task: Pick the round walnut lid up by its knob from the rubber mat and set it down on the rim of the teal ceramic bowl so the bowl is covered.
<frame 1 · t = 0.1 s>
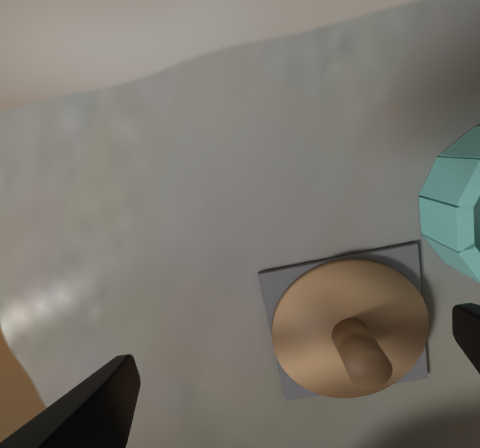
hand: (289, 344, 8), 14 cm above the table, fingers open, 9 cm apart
lid: (357, 347, 22), on the mat
mat: (345, 325, 25), on the table
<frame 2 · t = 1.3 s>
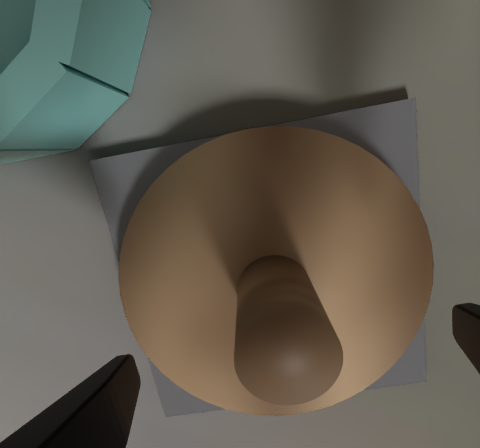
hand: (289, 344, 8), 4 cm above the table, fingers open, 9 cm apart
lid: (278, 311, 10), on the mat
mat: (271, 276, 13), on the table
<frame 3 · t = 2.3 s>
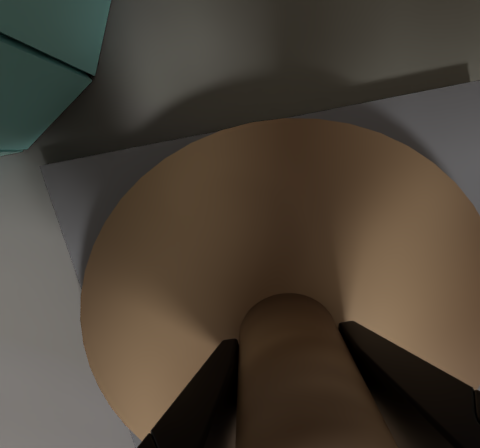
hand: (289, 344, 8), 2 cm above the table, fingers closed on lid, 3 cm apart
lid: (296, 378, 7), on the mat, touching gripper
mat: (282, 314, 10), on the table
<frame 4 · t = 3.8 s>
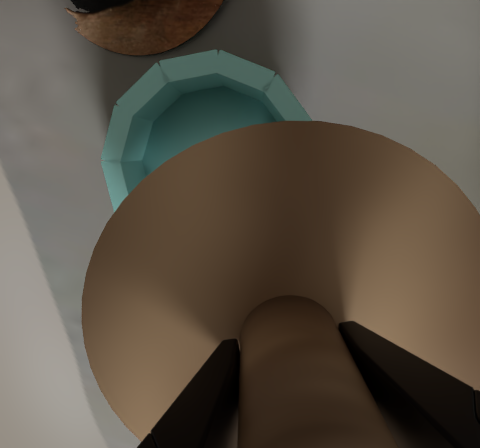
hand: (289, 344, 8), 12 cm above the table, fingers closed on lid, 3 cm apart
lid: (298, 380, 7), point 14 cm above the table, touching gripper
bowl: (218, 166, 19), on the table
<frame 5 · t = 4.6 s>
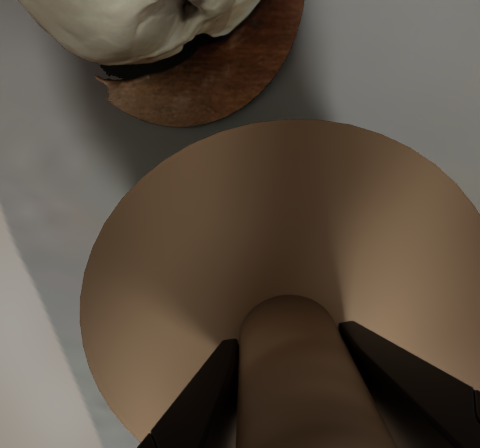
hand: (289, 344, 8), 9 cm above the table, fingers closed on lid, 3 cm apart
lid: (297, 380, 7), point 10 cm above the table, touching gripper
when the fingers open (7 cm above the table, at t = 5.2 s): lid drops 1 cm, resting on bowl.
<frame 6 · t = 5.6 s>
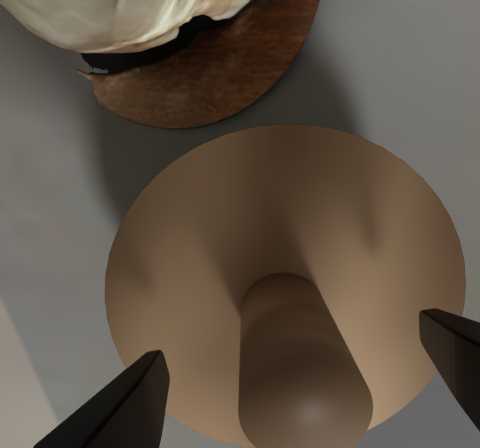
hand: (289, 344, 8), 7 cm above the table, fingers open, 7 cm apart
lid: (289, 340, 9), on the bowl, point 6 cm above the table
mat: (442, 430, 17), on the table
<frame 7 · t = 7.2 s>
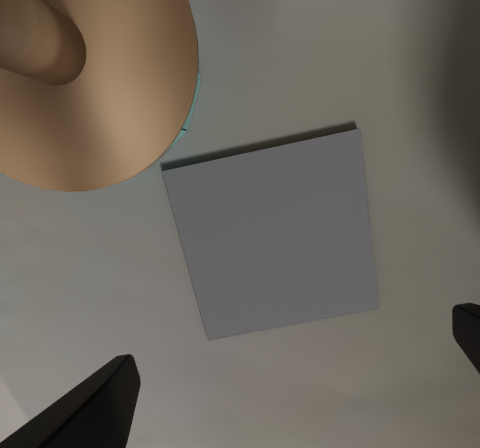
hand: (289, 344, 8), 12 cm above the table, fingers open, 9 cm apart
lid: (26, 35, 11), on the bowl, point 6 cm above the table
mat: (276, 242, 20), on the table
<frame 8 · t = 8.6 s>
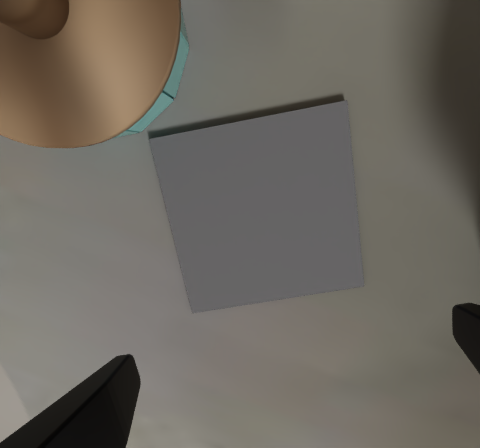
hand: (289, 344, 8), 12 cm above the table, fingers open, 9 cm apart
mat: (262, 215, 20), on the table
bowl: (91, 39, 17), on the table
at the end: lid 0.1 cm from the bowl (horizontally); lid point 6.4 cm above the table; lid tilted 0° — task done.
